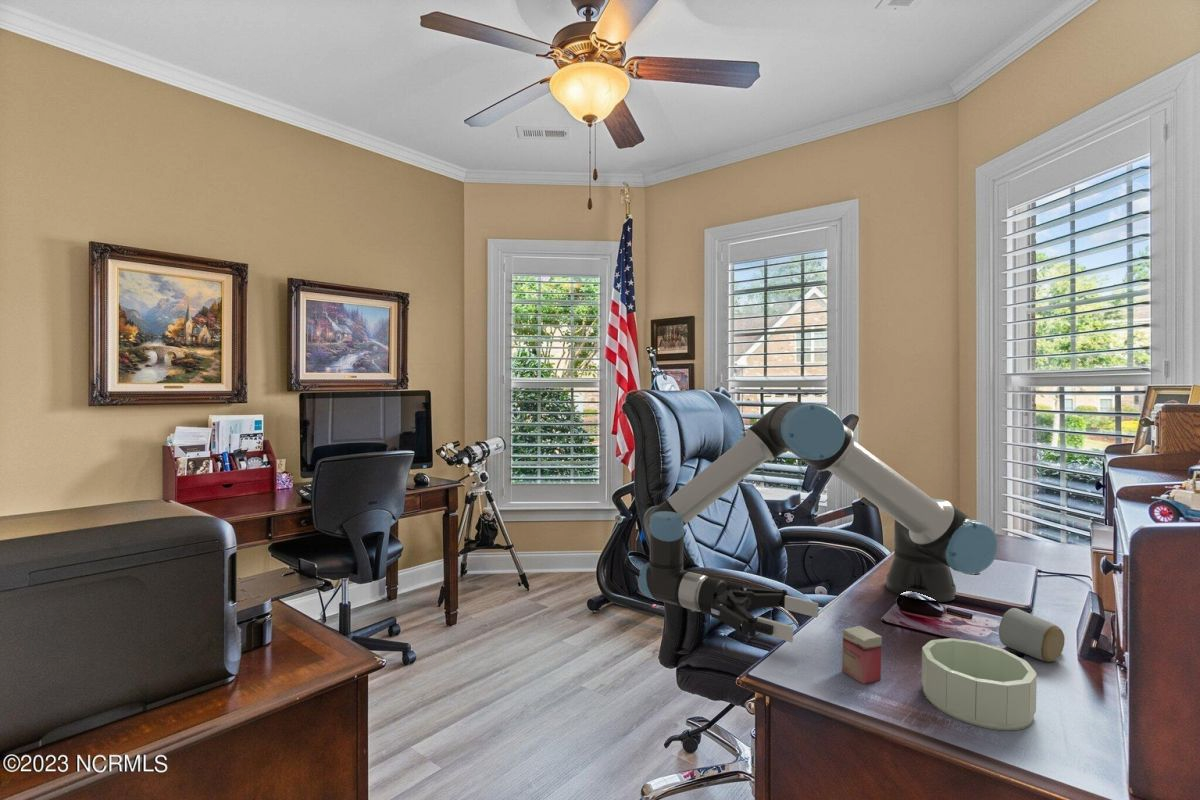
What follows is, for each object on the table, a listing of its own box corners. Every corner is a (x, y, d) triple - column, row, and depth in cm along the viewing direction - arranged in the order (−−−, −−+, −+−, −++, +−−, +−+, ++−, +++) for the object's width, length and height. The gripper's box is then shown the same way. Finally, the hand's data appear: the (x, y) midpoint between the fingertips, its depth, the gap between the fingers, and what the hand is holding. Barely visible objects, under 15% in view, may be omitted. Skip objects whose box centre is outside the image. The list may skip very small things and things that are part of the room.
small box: (841, 671, 102) (841, 628, 102) (859, 666, 104) (859, 624, 104) (863, 685, 98) (864, 640, 97) (882, 680, 99) (882, 636, 99)
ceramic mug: (1045, 668, 103) (1046, 626, 103) (997, 649, 110) (998, 610, 110) (1076, 657, 108) (1077, 617, 107) (1027, 639, 115) (1029, 601, 115)
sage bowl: (902, 682, 98) (903, 643, 98) (976, 673, 101) (977, 635, 101) (975, 736, 84) (976, 689, 83) (1059, 724, 86) (1060, 679, 86)
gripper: (731, 594, 130) (826, 619, 116) (673, 632, 110) (779, 667, 97) (731, 562, 130) (827, 583, 116) (674, 594, 110) (780, 624, 97)
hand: (805, 621), depth 107 cm, fingers open, 13 cm apart
